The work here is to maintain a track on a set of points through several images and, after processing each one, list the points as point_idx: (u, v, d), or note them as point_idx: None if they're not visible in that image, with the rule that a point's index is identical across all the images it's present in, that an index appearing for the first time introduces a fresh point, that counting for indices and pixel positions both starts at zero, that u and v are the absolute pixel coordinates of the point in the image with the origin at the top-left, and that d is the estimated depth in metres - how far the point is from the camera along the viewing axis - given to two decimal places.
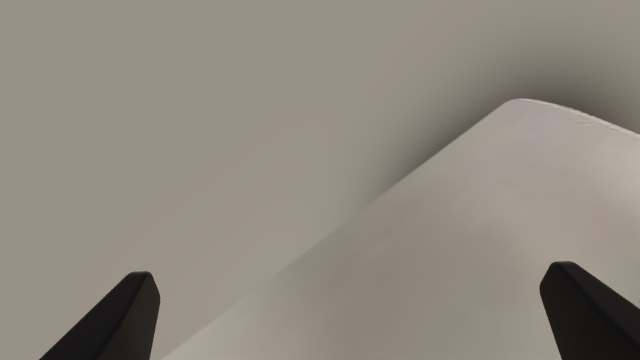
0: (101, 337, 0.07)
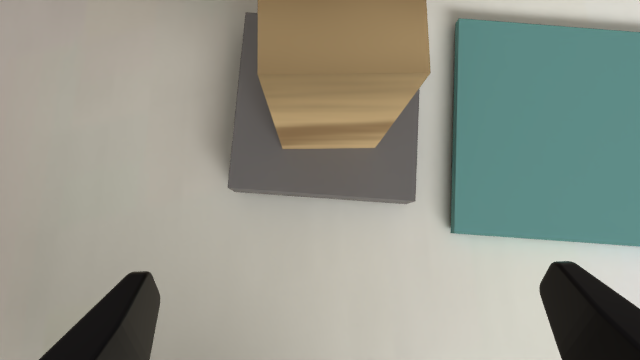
0: (101, 337, 0.07)
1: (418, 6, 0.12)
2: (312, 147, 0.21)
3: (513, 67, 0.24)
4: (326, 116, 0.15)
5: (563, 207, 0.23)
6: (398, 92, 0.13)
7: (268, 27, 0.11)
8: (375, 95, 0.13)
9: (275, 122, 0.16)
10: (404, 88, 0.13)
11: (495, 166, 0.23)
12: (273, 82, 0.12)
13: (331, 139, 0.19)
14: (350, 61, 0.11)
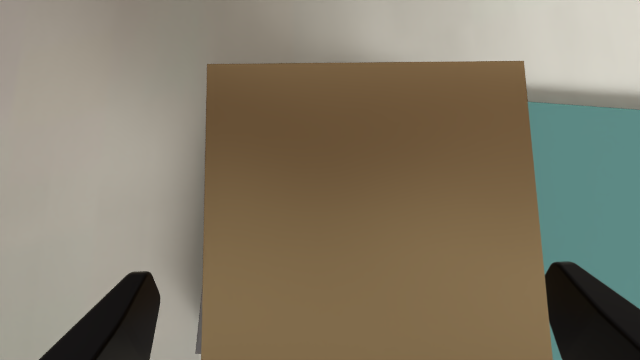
0: (101, 337, 0.07)
1: (526, 247, 0.06)
2: None
3: (580, 166, 0.18)
4: None
5: None
6: None
7: (224, 300, 0.06)
8: None
9: None
10: None
11: None
12: None
13: None
14: None
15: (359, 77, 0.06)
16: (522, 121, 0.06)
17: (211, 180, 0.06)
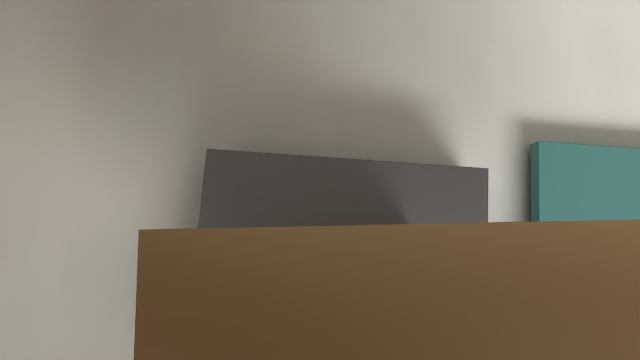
0: None
1: None
2: None
3: (625, 219, 0.15)
4: None
5: None
6: None
7: None
8: None
9: None
10: None
11: None
12: None
13: None
14: None
15: (397, 250, 0.04)
16: None
17: None
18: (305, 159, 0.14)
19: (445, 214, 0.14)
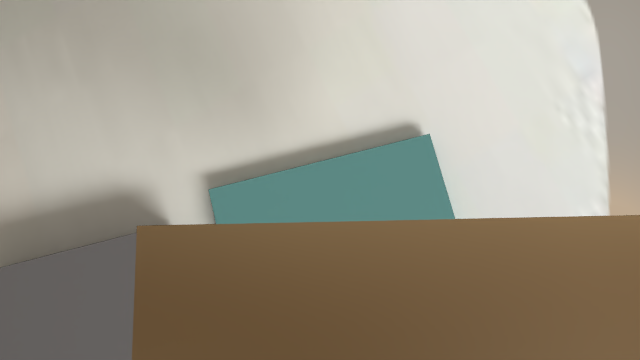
0: None
1: None
2: None
3: None
4: None
5: None
6: None
7: None
8: None
9: None
10: None
11: None
12: None
13: None
14: None
15: (394, 247, 0.04)
16: None
17: None
18: (31, 262, 0.20)
19: None
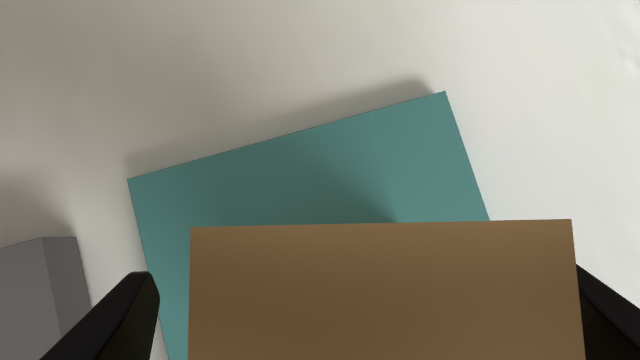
0: (101, 337, 0.07)
1: None
2: None
3: None
4: None
5: None
6: None
7: None
8: None
9: None
10: None
11: None
12: None
13: None
14: None
15: (374, 242, 0.05)
16: (570, 296, 0.05)
17: None
18: None
19: (6, 300, 0.13)
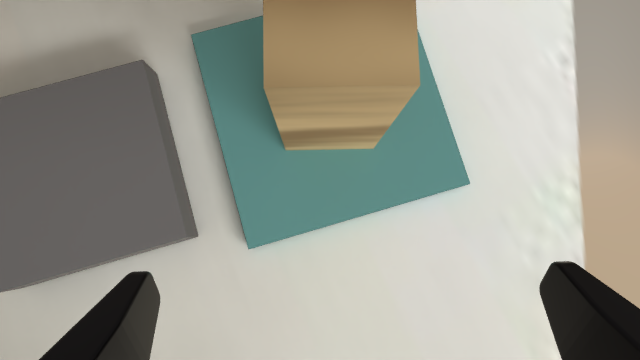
0: (101, 337, 0.07)
1: (409, 23, 0.13)
2: (314, 148, 0.22)
3: (258, 64, 0.23)
4: (326, 121, 0.17)
5: (346, 185, 0.22)
6: (392, 101, 0.14)
7: (273, 44, 0.13)
8: (371, 103, 0.14)
9: (279, 127, 0.17)
10: (397, 97, 0.14)
11: (270, 169, 0.22)
12: (278, 93, 0.13)
13: (331, 141, 0.20)
14: (347, 75, 0.13)
15: None
16: None
17: None
18: (24, 93, 0.21)
19: (122, 96, 0.21)
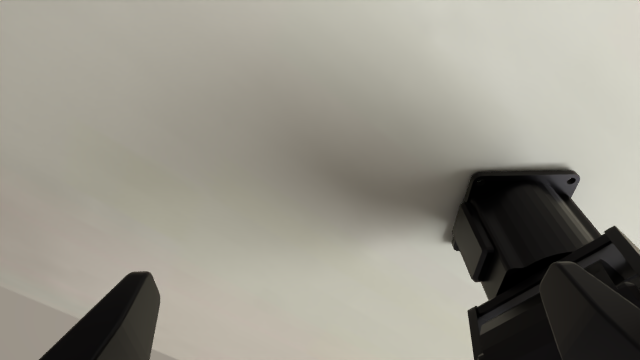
0: (101, 337, 0.07)
1: None
2: None
3: None
4: None
5: None
6: None
7: None
8: None
9: None
10: None
11: None
12: None
13: None
14: None
15: None
16: None
17: None
18: None
19: None
